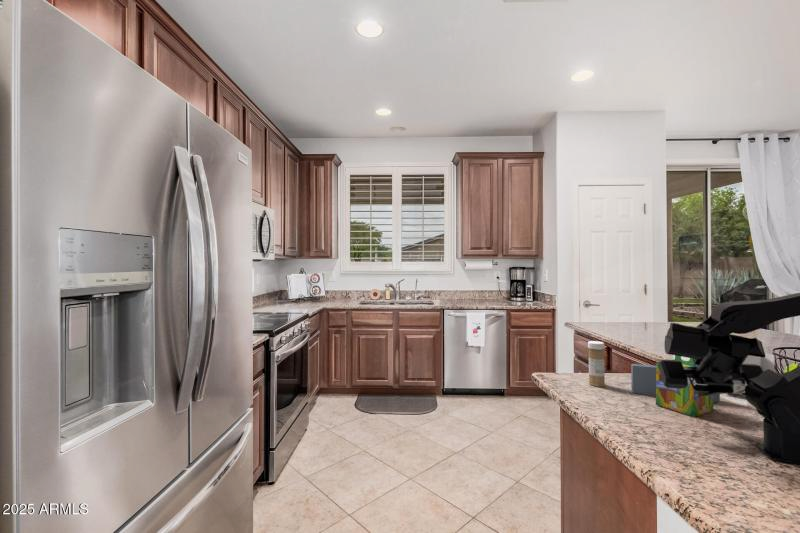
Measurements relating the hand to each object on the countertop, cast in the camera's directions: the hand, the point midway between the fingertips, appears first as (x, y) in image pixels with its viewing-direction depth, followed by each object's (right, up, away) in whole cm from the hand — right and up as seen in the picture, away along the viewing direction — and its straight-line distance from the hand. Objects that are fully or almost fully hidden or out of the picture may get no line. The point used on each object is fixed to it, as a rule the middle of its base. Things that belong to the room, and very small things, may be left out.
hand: (699, 393), depth 86 cm
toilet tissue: (+37, -7, +29) cm, 48 cm away
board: (+7, -7, +17) cm, 20 cm away
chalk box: (+3, -7, +8) cm, 11 cm away
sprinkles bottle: (-9, -7, +28) cm, 30 cm away
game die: (+25, -7, +18) cm, 32 cm away
